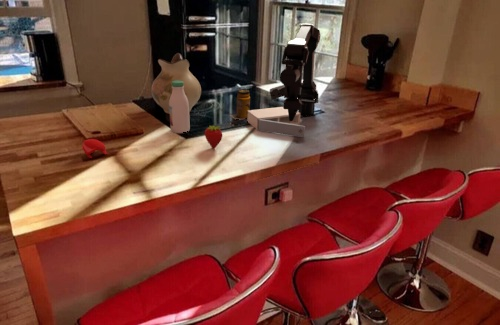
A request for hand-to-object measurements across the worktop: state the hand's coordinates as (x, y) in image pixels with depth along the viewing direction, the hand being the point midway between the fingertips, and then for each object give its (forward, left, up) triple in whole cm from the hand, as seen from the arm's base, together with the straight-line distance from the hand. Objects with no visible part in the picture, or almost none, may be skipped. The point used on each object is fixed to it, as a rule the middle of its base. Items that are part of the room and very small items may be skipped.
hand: (290, 120), depth 142 cm
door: (0, -8, -8) cm, 11 cm away
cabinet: (-3, -21, -8) cm, 23 cm away
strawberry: (+30, -3, -9) cm, 31 cm away
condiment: (+7, -33, -9) cm, 35 cm away
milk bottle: (+37, -25, -9) cm, 45 cm away
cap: (+70, -11, -9) cm, 71 cm away
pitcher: (+32, -52, -9) cm, 62 cm away
